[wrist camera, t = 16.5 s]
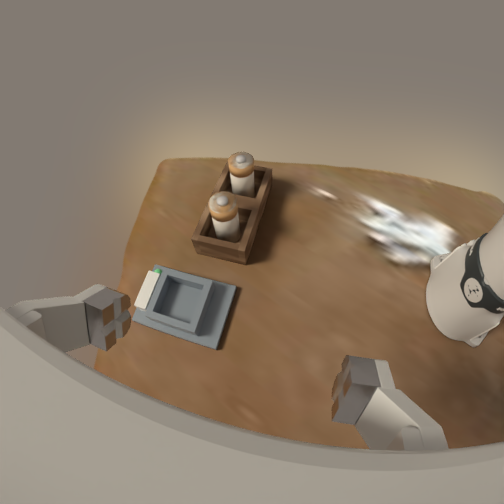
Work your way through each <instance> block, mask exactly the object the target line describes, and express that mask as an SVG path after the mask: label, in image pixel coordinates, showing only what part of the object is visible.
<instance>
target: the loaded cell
mask: <svg viewBox="0 0 504 504" xmlns="http://www.w3.org/2000/svg"><path fill="white" fill-rule="evenodd" d="M228 164H229V171H230V177H231V185H232V193H233V194H235V195H240V196H246V197H251V198H254V195H255V189H254V158H253V156H252V155H250V154H249V153H246V152H238V153H235V154H233V155H231V156H230V157H229V159H228Z"/></svg>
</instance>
